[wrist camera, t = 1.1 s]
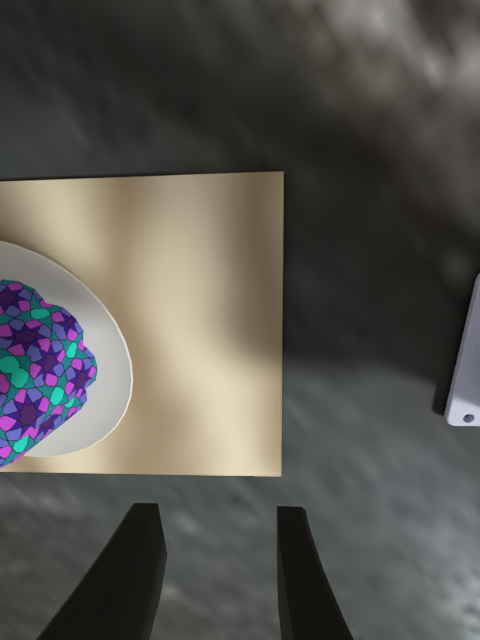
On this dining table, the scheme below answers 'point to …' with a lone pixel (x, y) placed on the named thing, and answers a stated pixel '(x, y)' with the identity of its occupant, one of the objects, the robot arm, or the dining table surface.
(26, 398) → the pudding
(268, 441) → the board
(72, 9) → the dining table surface
